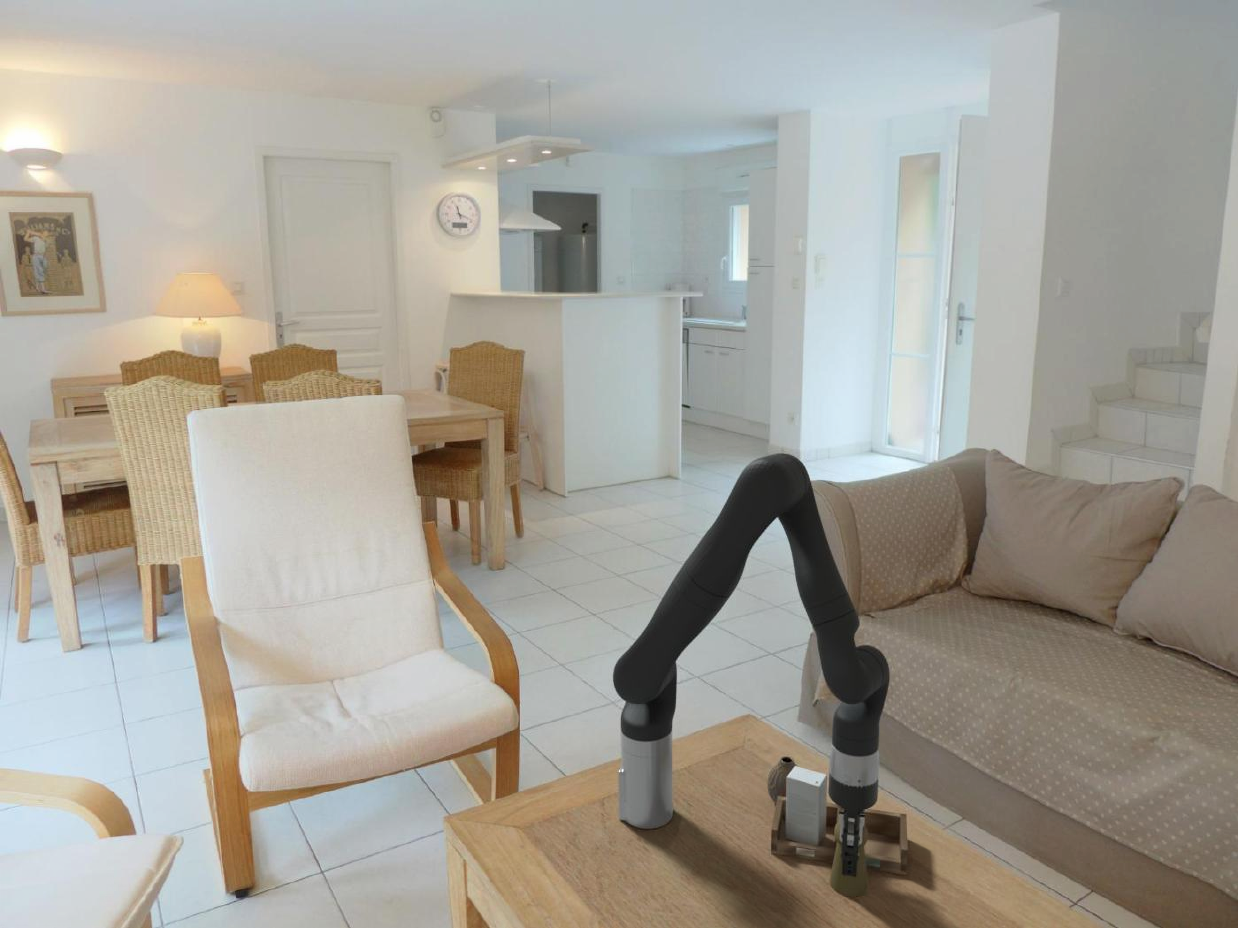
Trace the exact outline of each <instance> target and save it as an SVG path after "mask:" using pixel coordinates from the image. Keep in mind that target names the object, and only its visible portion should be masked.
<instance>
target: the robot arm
mask: <svg viewBox="0 0 1238 928" xmlns="http://www.w3.org/2000/svg"><path fill="white" fill-rule="evenodd" d="M814 492H815V491H814V489H813V485H812V481H811V478H810V474H809V472H808V469H807V468H806V466H805V465H804V463H803V462H802V461H801V460H800V459H799V458H797V456H794V455H792V454H790V453H785V452H784V453H783V452H782V453H774V454H770V455H764V456H762V457H759V458H758V457H757V458H756V459H754V460H752V461H751V462H750V463H748V464H747V465H746V466H745V467H744V469H743V470H742V471H741V473H740V475H739V476H738V478H737V480H736V482H735V484H734V485H733V488H732V489H731V492H730V493H729V496H728V497H727V499H726V501H725V503H724V505H723V507H722V509H721V510H720V512H719V514H718V516H717V518H716V519H715V521H714V522H713V523H712V525H711V526H710V528H708V530H707V531H706V532H705V534H704V535H703V536H702V538H701V539H700V541H699V542H698V543H697V545H696V546H695V547H694V549H693V550H692V551H691V553H690V554H689V556H688V557H687V559H686V560H685V561H684V563H683V564H682V566H681V567H680V569H679V570H678V572H677V574H676V575H675V576H674V578H673V579H672V581H671V582H670V584H669V586H668V588H667V590H666V591H665V593H664V594H663V597H662V598H661V600H660V601H659V603H658V605H657V607H656V609H655V611H654V613H653V614H652V617H651V618H650V620H649V622H648V623H647V625H646V627H645V628H644V630H643V631H642V632H641V633H640V635H639V636H638V637H637V639H635V641H634V642H633V644H631V646H629V648H628V649H627V650H626V651H625V652H624V653H623V654H622V655H621V656H620V657H619V659H617V661H616V663H615V665H614V668H613V672H612V673H613V674H612V681H613V682H612V683H613V687H614V690H615V692H616V694H617V696H619V697H620V699H622V700H623V701H625V703H624V706H623V708H622V710H621V715H620V748H621V749H620V750H621V751H620V755H621V756H620V757H621V759H620V760H621V766H620V768H619V770H618V773H617V775H618V776H617V780H618V782H617V783H618V785H617V787H618V788H617V789H618V820H620V821H623V822H626V823H628V824H629V825H630V826H632V827H635V828H638V829H643V830H645V829H647V830H648V829H657V828H661V827H663V826H665V825H666V824H668V823H669V822H670V821H671V820H672V818H673V815H674V799H673V797H674V794H673V791H674V788H673V787H674V786H673V784H674V783H673V782H674V781H673V779H674V778H673V775H674V773H673V772H674V771H673V769H674V768H673V721H674V716H675V712H676V708H677V690H678V689H677V688H678V687H677V686H678V685H677V684H678V668H677V667H678V666H677V661H678V659H679V657H680V656H681V654H682V653H684V651H685V650H686V649H687V648H688V646H689V645H690V644H691V643H692V642H693V641H694V640H695V639H696V638H697V637H699V636H700V635H701V633H702V632H703V631H704V630H705V629H706V627H708V625H709V624H710V623H711V622H712V621H713V620H714V619H715V617H716V616H717V615H718V613H720V611H721V610H722V608H723V607H724V606H725V605H726V603H727V601H728V600H729V599H730V597H731V596H732V594H734V592H735V590H736V588H737V586H738V585H739V583H740V580H741V578H742V576H743V573H744V571H745V568H746V564H747V560H748V557H749V554H750V553H751V550H752V549H753V547H754V546H755V545H756V543H757V542H758V540H759V539H760V537H761V536H762V535H763V534H764V533H765V531H766V530H767V529H768V528H769V527H770V526H771V524H773V523H774V521H775V520H776V519H778V520H779V522H780V525H781V526H782V528H783V531H784V533H785V536H786V538H787V541H788V545H789V547H790V552H791V557H792V563H793V570H794V575H795V576H794V577H795V582H796V586H797V590H798V591H797V592H798V594H799V598H800V600H801V603H802V606H803V608H804V610H805V612H806V615H807V617H808V619H809V622H810V624H811V626H812V628H813V629H812V630H814V633H815V637H816V642H817V649H818V650H817V651H818V655H819V660H820V666H821V671H822V675H823V678H824V682H825V683H826V685H827V687H828V689H829V690H830V692H831V694H832V695H833V696H834V697H835V698H836V699H837V700H839V701H840V702H841V703H840V704H839V705H838V707H837V708H835V711H834V714H833V718H832V730H831V732H832V734H831V746H830V752H829V765H828V766H829V767H828V770H829V771H828V788H827V794H828V796H829V798H830V800H831V801H832V802H833V804H837V805H839V806H840V809H839V823H840V838H839V839H840V841H841V842H842V850H841V857H842V859H843V861H842V875H843V876H844V875H848V876H853V877H856V872H857V862H858V860H859V853H858V846H859V845H860V844H861V843H862V829H863V826H864V822H865V809H872V807H873V806H874V805H876V804H877V802H878V799H879V797H878V794H879V778H880V777H879V776H880V754H879V745H880V743H879V742H880V721H881V716H882V714H883V710H884V708H885V707H884V706H885V704H886V699H887V694H888V691H889V686H890V677H891V676H890V675H891V674H890V667H889V663H888V660H887V658H886V657H885V655H884V654H883V652H882V651H881V650H880V649H879V648H877V647H875V646H873V645H870V644H861V645H857V646H856V641H855V636H856V633H857V632H858V629H860V628H859V627H860V622H861V621H860V618H859V615H858V612H857V610H856V608H855V606H854V603H853V601H852V598H851V597H850V594H849V592H848V590H847V587H846V585H845V583H844V580H843V578H842V576H841V573H840V571H839V569H838V565H837V564H836V560H835V559H834V555H833V553H832V551H831V547H830V544H829V541H828V539H827V535H826V533H825V529H824V526H823V522H822V520H821V515H820V513H819V509H818V505H817V501H816V496H815V493H814ZM843 825H844V831H845V832H843ZM858 829H859V834H857V833H858Z"/></svg>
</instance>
